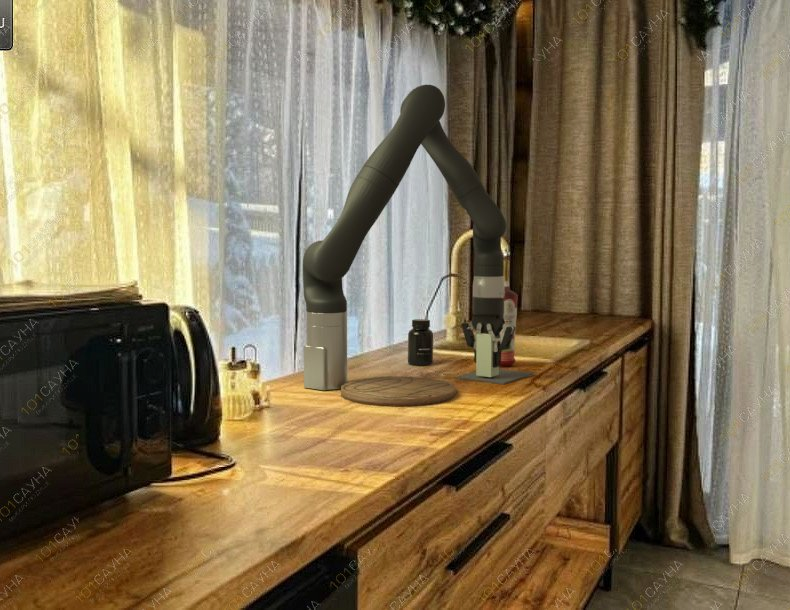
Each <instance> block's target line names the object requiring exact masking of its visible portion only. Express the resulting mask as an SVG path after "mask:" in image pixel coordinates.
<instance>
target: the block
mask: <svg viewBox="0 0 790 610" xmlns="http://www.w3.org/2000/svg"><path fill="white" fill-rule="evenodd" d="M497 337H498V336H496V337H495V338H497ZM493 352H494V351H493V343H492V335H489V334H482V333H481V334H477V341H476V363H475V365H476V366H475V371H476V375H477V376H485V377H493V376H496V375H499V369H500V367H496V368H494V367H493Z"/></svg>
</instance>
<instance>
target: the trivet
mask: <svg viewBox="0 0 790 610" xmlns="http://www.w3.org/2000/svg"><path fill="white" fill-rule="evenodd" d="M456 389H457V387H456V386H455V385H454V384H453V383H451V382H448V381H445V380H442V379H436V378H429V377H419V376H401V375H400V376H398V375H397V376H396V375H395V376H377V377H374V376H373V377H365V378H360V379H355V380H351V381H347V383H345V384H344V385H342V386H341V388H340V397H341V398H343V399H344V400H346V401H348V402H351V403H356V404H359V405H364V406H375V407H387V408H388V407H392V408H397V407H399V408H403V407H404V408H405V407H407V408H409V407H421V406H423V407H424V406H431V405H438V404H441V403H446V402H449V401H451V400H453V399H454V398H455V397H456V396H457V394H456V393H457V392H456V391H457V390H456Z"/></svg>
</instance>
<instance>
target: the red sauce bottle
mask: <svg viewBox="0 0 790 610" xmlns="http://www.w3.org/2000/svg"><path fill="white" fill-rule="evenodd" d="M509 269H510V260H508V259H504V276H503V277H504V291H505V295H504V316H503V318H504V321H505V324H508V325H510V326H515V331H514V334H513V337H512V340H511V343H510V346H509V348H508V349H505V350H502V352H501V364H500V365H499V368H509V367H511V366H513V365H514V364H515V363H516V359H515V349H516V348H515V345H516V344H515V343H516V342H515V341H516V330H517V329H516V327H517V316H518V315H517V313H518V299H519V298H518V296H519V295H518V294H517V293H516V292H515V291H513V290H511V289H510V278H509ZM503 331H504V329H502V330H501V332H500V334H501V342H502V339H503V336H504V332H503Z"/></svg>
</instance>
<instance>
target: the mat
mask: <svg viewBox="0 0 790 610" xmlns="http://www.w3.org/2000/svg"><path fill="white" fill-rule="evenodd" d="M533 374H534V375H535V373H534V372H529V371H520V370H512V369H505V368H504V369H503V368H499V375H496V376H493V377H485V376H477V375H476V370H474V371H472V372H468V373H465V374H461V375H458V376H457V375H456V376H455V379H457V380H458V379H459V380H467V381H472V382H473V381H476V382H482V383H489V384H498V385H507V384H510V383H512V382H515V381H518V379H519V380H521V378H522V379H525V378H528V377H530V375H531V376H533ZM527 376H528V377H527ZM524 377H525V378H524Z"/></svg>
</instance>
